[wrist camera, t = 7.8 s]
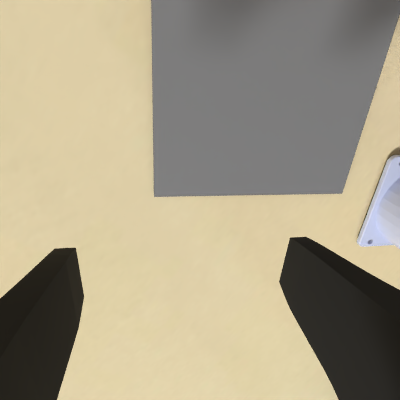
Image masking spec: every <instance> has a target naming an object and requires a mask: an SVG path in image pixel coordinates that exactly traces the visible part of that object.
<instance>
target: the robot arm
mask: <svg viewBox="0 0 400 400" xmlns="http://www.w3.org/2000/svg"><path fill="white" fill-rule="evenodd" d="M357 243H358V244H359V245H360V246H362V247H364V246H382V245H395V246H396V247H398V248H399V249H400V155H393V156H391V157H390V158H389V159H388V160H387V163H386V165H385V168H384V171H383V173H382V176H381V178H380V181H379V184H378V186H377V189H376V192H375V194H374V197H373V200H372V202H371V205H370V207H369V210H368V213H367V215H366V218H365V221H364V223H363V226H362V229H361V231H360V234H359V236H358V239H357ZM279 282H280V285H281V288H282V290H283V293H284V295H285V298H286V300H287V303H288V305H289V307H290V309H291V311H292V313H293V315H294V317H295V319H296V320H297V322H298V324H299V326H300V328H301V329H302V331H303V333H304V335H305V336H306V338H307V340H308V342H309V344H310V345H311V347H312V349H313V351H314V352H315V354H316V356H317V358H318V360H319V361H320V363H321V365H322V367H323V368H324V370H325V372H326V374H327V376H328V378H329V380H330V382H331V384H332V386H333V388H334V390H335V393H336V395H337V397H338V399H339V400H400V290H399V289H397V288H395V287H393V286H391V285H389V284H387V283H386V282H384V281H382V280H380V279H378V278H377V277H375V276H373V275H371V274H370V273H368V272H366V271H364V270H363V269H361V268H359V267H357V266H356V265H354V264H352V263H351V262H349V261H347V260H346V259H344V258H342V257H341V256H339V255H337V254H336V253H334V252H332V251H331V250H329V249H327V248H325V247H324V246H322V245H320V244H318V243H317V242H315V241H313V240H311V239H309V238H307V237H295V238H290V240H289V244H288V248H287V252H286V256H285V260H284V265H283V269H282V273H281V277H280V281H279ZM83 299H84V294H83V288H82V282H81V276H80V270H79V264H78V258H77V252H76V248H60V249H54V250H53V251H52V252H51V253H49V254H48V255H47V256H46V257H45V258H44V259H43V260H42V261H41V262H40V263H39V264H38V265H37V266H35V267H34V268H33V269H32V270H31V271H30V272H29V273H28V274H27V275H26V276H25V277H24V278H23V279H22V280H20V281H19V282H18V283H17V284H16V285H15V286H14V287H13V288H12V289H10V290H9V291H8V292H7V293H6V294H5V295H4V296H3V297H2V298H0V400H57V397H58V394H59V391H60V387H61V384H62V381H63V378H64V374H65V371H66V368H67V364H68V361H69V358H70V355H71V351H72V348H73V345H74V341H75V338H76V335H77V331H78V328H79V322H80V317H81V311H82V305H83Z"/></svg>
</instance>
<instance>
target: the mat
mask: <svg viewBox="0 0 400 400" xmlns="http://www.w3.org/2000/svg"><path fill="white" fill-rule="evenodd" d="M151 8H152V81H153V155H154V197H169V196H227V195H284V194H342V192H343V189H344V186H345V183H346V180H347V176H348V173H349V170H350V167H351V164H352V161H353V158H354V155H355V152H356V148H357V145H358V142H359V139H360V136H361V133H362V130H363V127H364V124H365V120H366V117H367V114H368V111H369V108H370V105H371V102H372V99H373V96H374V92H375V89H376V86H377V83H378V80H379V77H380V74H381V71H382V67H383V64H384V61H385V58H386V55H387V52H388V49H389V46H390V43H391V39H392V36H393V33H394V30H395V27H396V24H397V21H398V18H399V15H400V0H151Z"/></svg>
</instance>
